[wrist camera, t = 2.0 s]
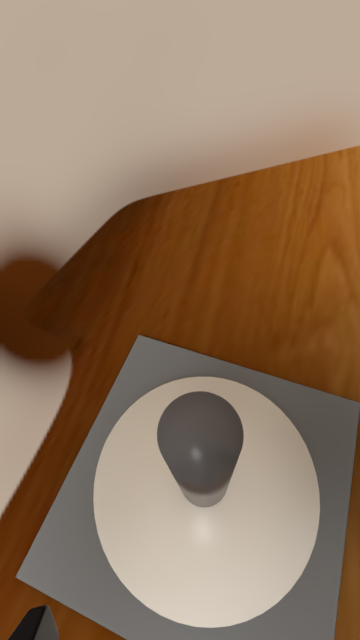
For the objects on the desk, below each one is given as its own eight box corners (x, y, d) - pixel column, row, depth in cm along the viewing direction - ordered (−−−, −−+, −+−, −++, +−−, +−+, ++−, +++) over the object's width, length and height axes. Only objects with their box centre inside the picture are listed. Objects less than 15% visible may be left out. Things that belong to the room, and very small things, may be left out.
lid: (291, 679, 15) (414, 888, 6) (56, 556, 18) (-95, 573, 9) (331, 417, 20) (423, 325, 12) (149, 358, 23) (113, 249, 15)
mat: (319, 743, 14) (321, 748, 14) (19, 576, 18) (15, 577, 17) (358, 405, 21) (360, 402, 21) (139, 337, 25) (138, 334, 25)
